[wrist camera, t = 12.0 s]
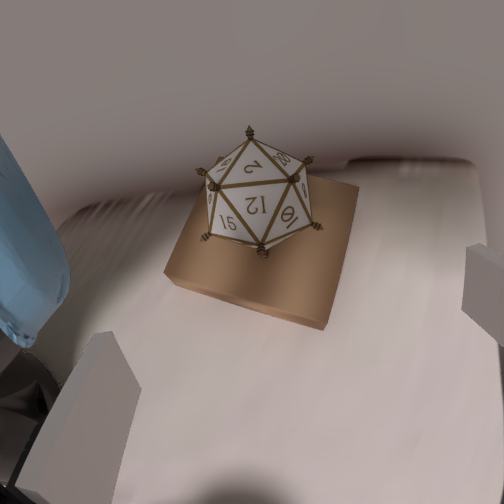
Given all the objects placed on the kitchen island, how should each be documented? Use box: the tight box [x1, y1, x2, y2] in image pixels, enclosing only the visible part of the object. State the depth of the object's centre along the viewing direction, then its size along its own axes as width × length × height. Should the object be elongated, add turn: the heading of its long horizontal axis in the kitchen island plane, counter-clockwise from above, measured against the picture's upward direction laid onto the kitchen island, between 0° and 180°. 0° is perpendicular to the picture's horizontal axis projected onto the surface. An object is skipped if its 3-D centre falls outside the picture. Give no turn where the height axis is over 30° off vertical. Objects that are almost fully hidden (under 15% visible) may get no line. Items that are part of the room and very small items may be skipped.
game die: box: [195, 126, 324, 261], centre depth 22 cm, size 9×8×10 cm
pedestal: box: [163, 157, 359, 330], centre depth 27 cm, size 13×12×3 cm
